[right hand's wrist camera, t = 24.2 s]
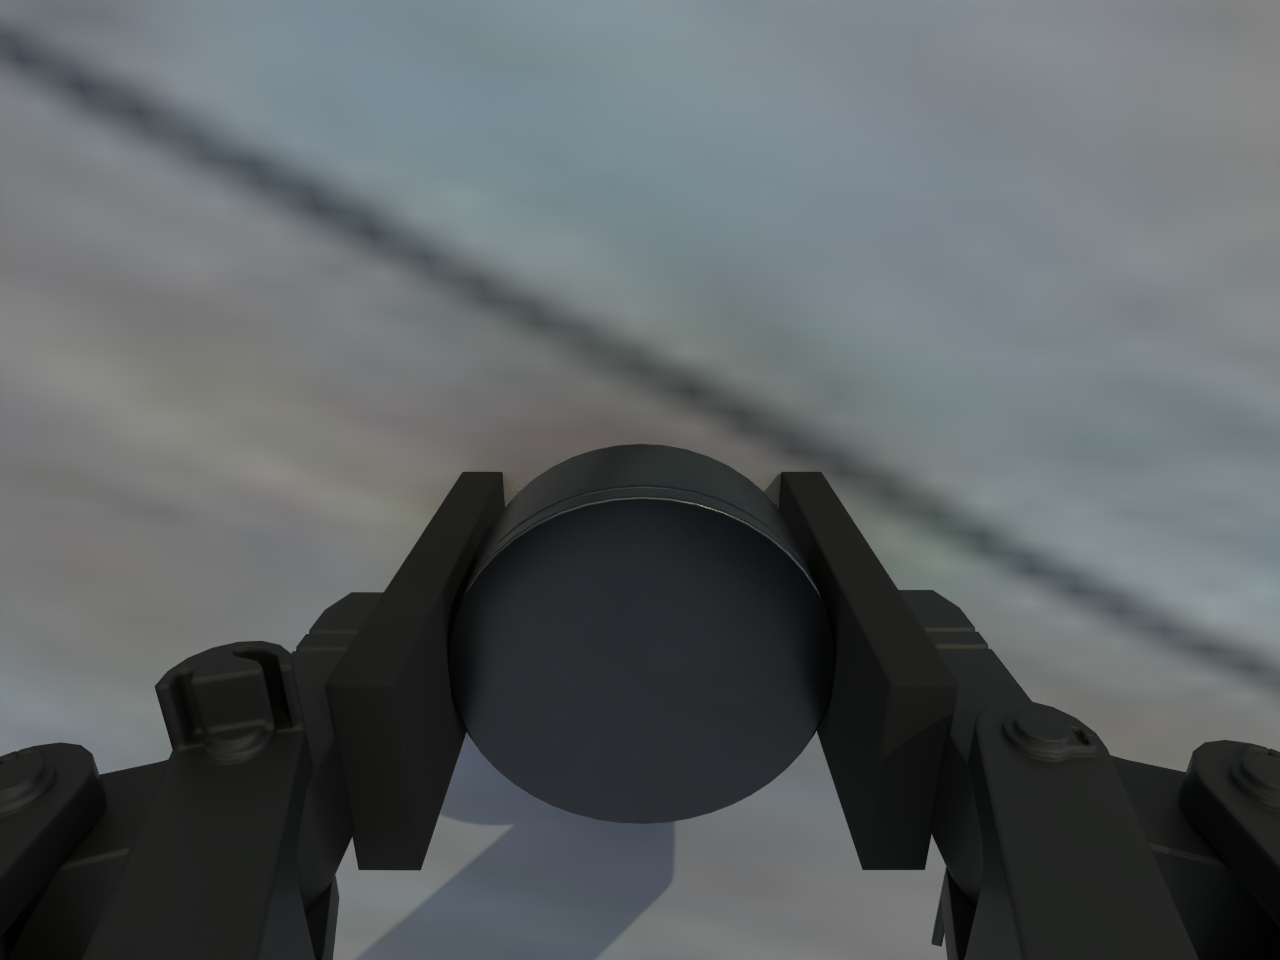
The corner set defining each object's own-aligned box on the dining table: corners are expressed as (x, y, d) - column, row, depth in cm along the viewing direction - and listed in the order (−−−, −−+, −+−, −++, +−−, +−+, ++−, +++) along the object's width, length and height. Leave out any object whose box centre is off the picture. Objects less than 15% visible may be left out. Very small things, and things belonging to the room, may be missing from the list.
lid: (844, 669, 13) (883, 758, 11) (561, 766, 14) (548, 865, 12) (738, 389, 11) (761, 433, 9) (419, 517, 12) (374, 584, 10)
